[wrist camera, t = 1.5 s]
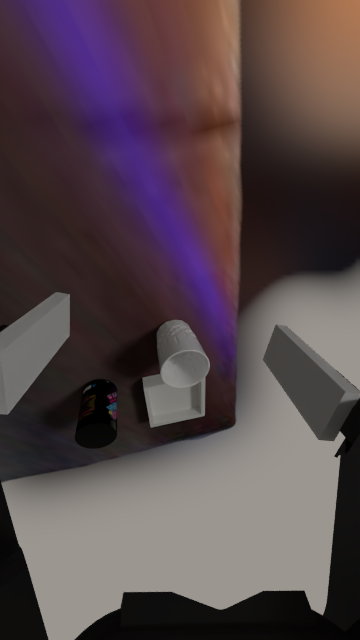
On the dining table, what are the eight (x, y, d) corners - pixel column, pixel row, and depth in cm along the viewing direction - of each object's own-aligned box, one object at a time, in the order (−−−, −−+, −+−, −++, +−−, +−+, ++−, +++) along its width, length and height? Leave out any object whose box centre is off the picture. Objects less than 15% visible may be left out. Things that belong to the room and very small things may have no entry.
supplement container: (105, 405, 52) (102, 452, 43) (76, 394, 48) (66, 442, 40) (124, 385, 50) (125, 430, 41) (94, 372, 47) (89, 418, 38)
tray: (149, 416, 56) (150, 427, 54) (142, 377, 50) (143, 388, 47) (201, 405, 58) (204, 415, 56) (201, 366, 52) (205, 376, 49)
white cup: (163, 311, 43) (174, 344, 34) (200, 323, 46) (218, 357, 37) (146, 345, 46) (152, 383, 37) (182, 354, 49) (195, 392, 40)
